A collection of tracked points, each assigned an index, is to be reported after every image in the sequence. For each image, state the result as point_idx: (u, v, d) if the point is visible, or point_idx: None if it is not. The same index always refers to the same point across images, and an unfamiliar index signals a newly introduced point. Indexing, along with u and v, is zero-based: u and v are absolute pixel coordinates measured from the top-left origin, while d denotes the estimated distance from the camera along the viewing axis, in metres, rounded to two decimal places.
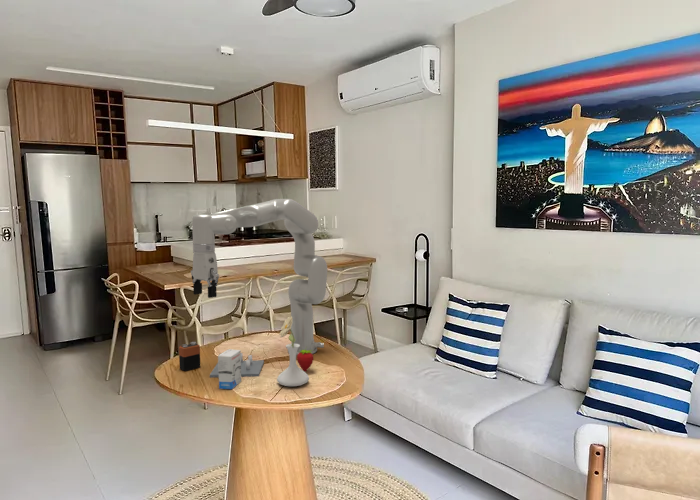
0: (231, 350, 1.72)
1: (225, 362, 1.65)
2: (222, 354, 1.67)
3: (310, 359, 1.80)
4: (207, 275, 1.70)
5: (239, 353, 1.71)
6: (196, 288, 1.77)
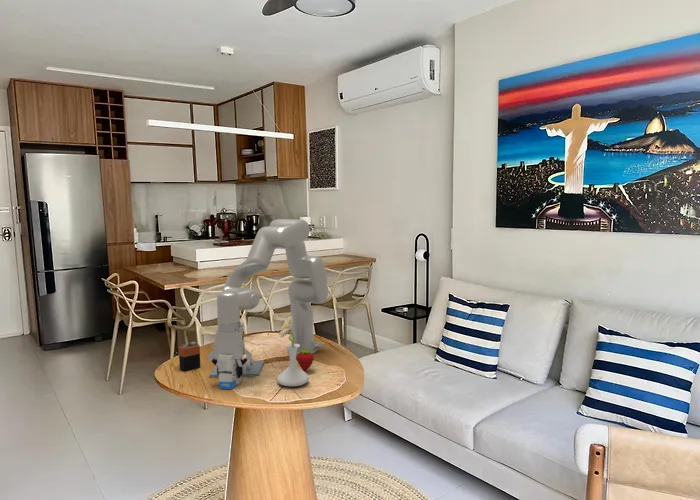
0: None
1: (225, 362, 1.65)
2: None
3: (310, 359, 1.80)
4: (242, 353, 1.67)
5: None
6: None
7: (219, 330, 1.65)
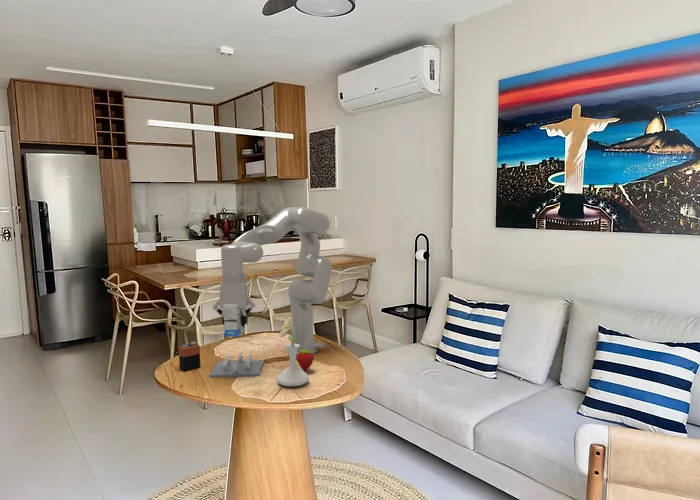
0: None
1: (230, 311, 1.73)
2: (227, 304, 1.75)
3: (310, 359, 1.80)
4: (246, 303, 1.76)
5: None
6: None
7: (224, 281, 1.73)
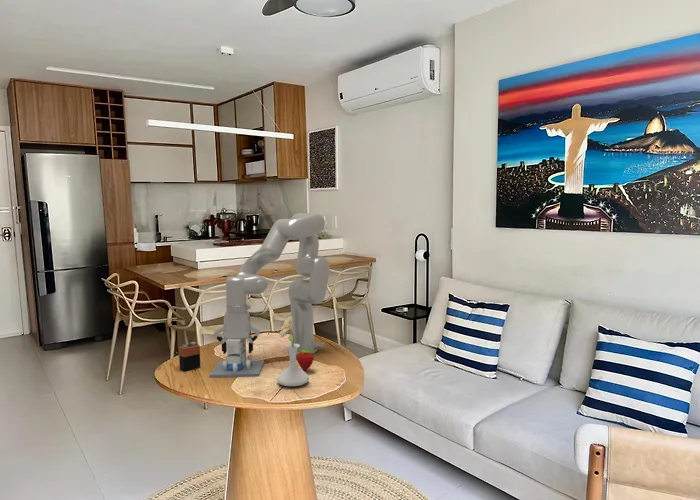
0: None
1: (233, 346, 1.81)
2: (230, 339, 1.82)
3: (310, 359, 1.80)
4: (249, 333, 1.83)
5: None
6: (225, 347, 1.84)
7: (228, 312, 1.81)
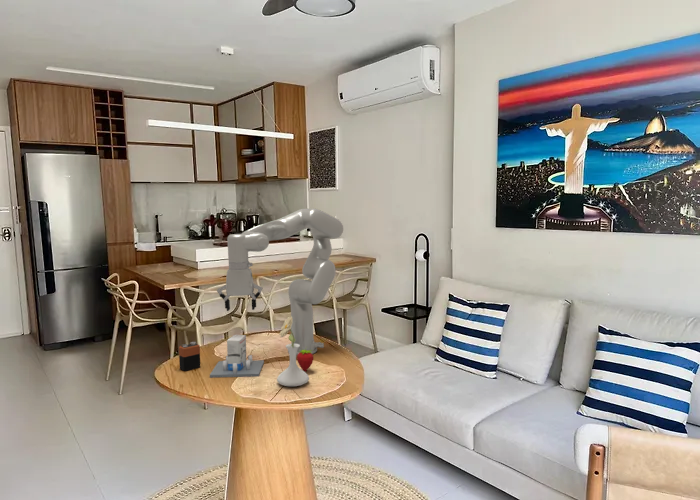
0: (237, 335, 1.87)
1: (234, 346, 1.81)
2: (230, 339, 1.82)
3: (310, 359, 1.80)
4: (252, 289, 1.85)
5: (245, 338, 1.87)
6: (228, 304, 1.85)
7: (230, 268, 1.82)
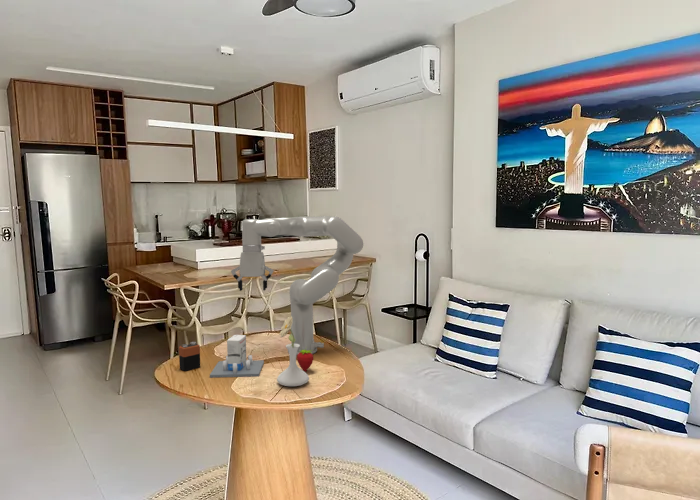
0: (237, 335, 1.87)
1: (234, 346, 1.81)
2: (230, 339, 1.82)
3: (310, 359, 1.80)
4: (263, 271, 1.97)
5: (245, 338, 1.87)
6: (241, 285, 1.98)
7: (244, 251, 1.95)
